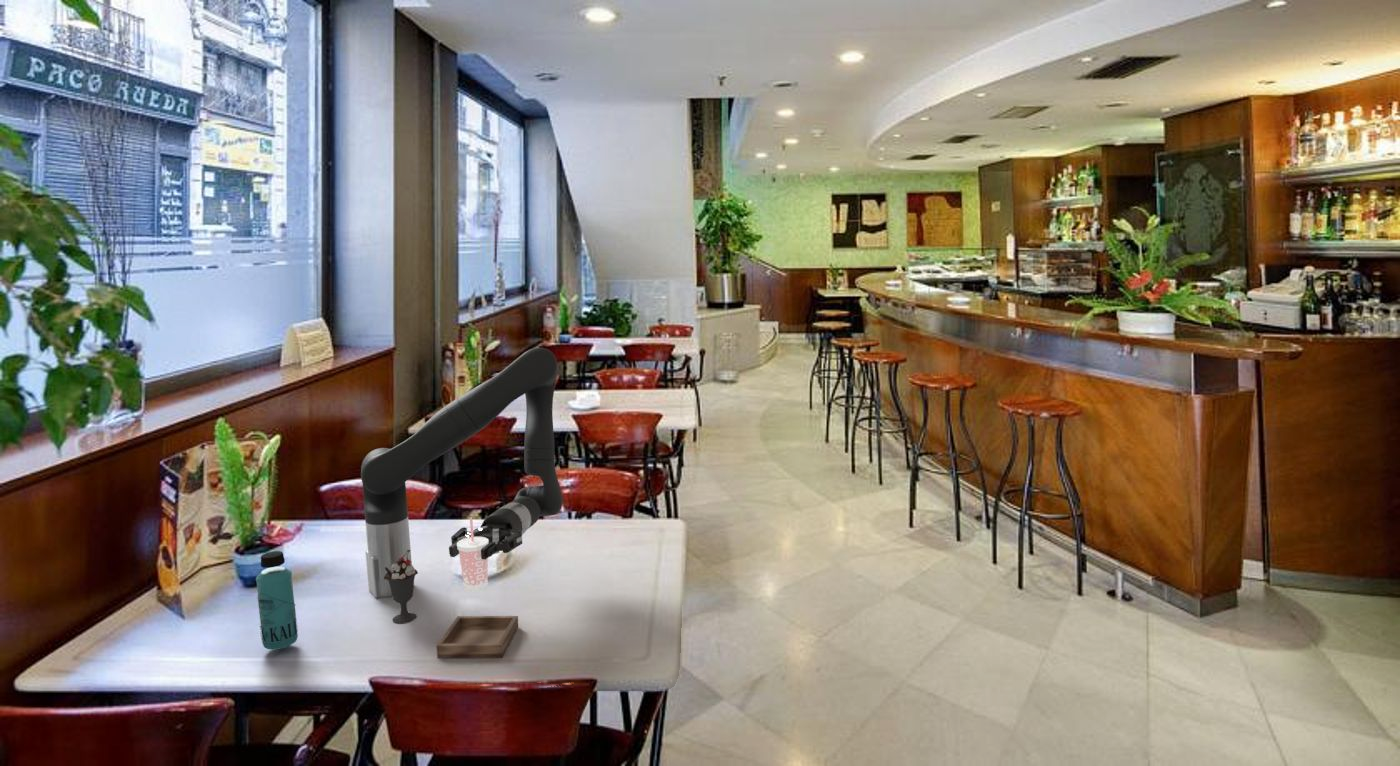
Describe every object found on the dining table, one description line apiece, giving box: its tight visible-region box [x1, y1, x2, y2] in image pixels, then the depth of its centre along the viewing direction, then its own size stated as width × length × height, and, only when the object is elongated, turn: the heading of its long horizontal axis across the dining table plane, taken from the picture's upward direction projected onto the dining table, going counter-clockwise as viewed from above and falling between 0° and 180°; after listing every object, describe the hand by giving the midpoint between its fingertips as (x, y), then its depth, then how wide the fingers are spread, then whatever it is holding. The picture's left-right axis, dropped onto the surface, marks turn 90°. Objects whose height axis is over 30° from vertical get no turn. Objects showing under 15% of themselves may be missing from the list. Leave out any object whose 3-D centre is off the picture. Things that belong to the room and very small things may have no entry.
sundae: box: [384, 550, 419, 624], centre depth 169 cm, size 7×7×15 cm
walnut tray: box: [436, 615, 519, 659], centre depth 159 cm, size 13×13×3 cm
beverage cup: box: [457, 516, 489, 591], centre depth 156 cm, size 6×6×14 cm
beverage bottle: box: [255, 550, 299, 650], centre depth 156 cm, size 6×7×20 cm
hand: (467, 553), depth 154 cm, fingers closed on beverage cup, 6 cm apart
